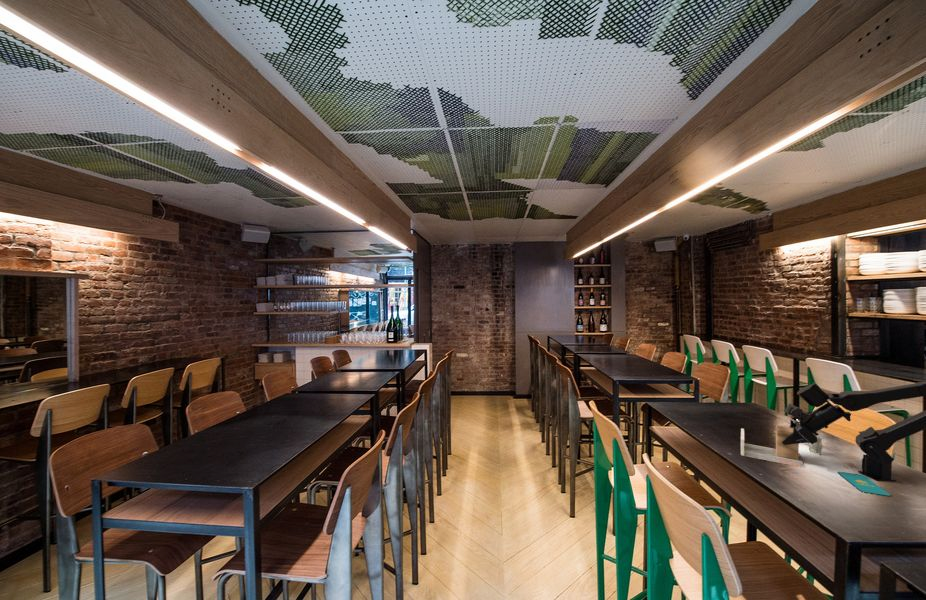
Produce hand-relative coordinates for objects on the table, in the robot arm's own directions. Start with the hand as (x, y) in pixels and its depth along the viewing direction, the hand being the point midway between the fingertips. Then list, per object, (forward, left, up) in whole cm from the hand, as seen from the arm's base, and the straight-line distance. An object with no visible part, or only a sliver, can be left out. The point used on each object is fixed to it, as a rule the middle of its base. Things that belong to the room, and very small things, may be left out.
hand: (782, 440), depth 147 cm
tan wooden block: (-1, -1, -6) cm, 6 cm away
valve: (+8, -19, -7) cm, 22 cm away
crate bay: (+2, +3, -7) cm, 7 cm away
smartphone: (-20, -10, -7) cm, 23 cm away
